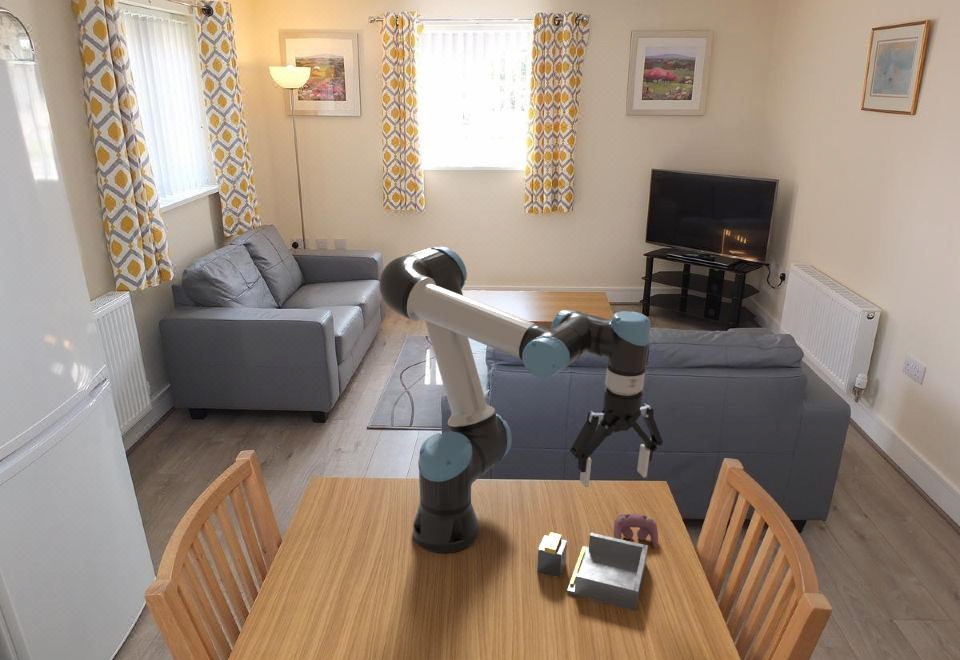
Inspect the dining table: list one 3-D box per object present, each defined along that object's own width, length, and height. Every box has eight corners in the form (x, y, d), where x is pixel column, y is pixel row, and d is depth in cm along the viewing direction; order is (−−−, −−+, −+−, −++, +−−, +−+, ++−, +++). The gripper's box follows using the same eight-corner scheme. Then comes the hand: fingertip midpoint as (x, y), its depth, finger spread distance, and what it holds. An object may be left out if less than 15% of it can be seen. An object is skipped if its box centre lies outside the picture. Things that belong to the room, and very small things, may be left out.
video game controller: (655, 545, 159) (656, 514, 160) (659, 549, 154) (659, 517, 155) (612, 542, 160) (613, 511, 160) (614, 546, 155) (615, 514, 156)
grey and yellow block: (537, 572, 148) (538, 545, 145) (543, 557, 152) (544, 531, 150) (559, 578, 146) (561, 551, 143) (565, 562, 150) (567, 536, 148)
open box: (567, 593, 142) (568, 574, 140) (582, 548, 155) (584, 531, 153) (635, 610, 137) (638, 591, 136) (645, 563, 150) (648, 545, 149)
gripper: (575, 404, 131) (566, 498, 139) (688, 389, 138) (674, 479, 146) (559, 387, 138) (552, 477, 145) (667, 373, 145) (655, 460, 153)
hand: (613, 478), depth 146 cm, fingers open, 13 cm apart
